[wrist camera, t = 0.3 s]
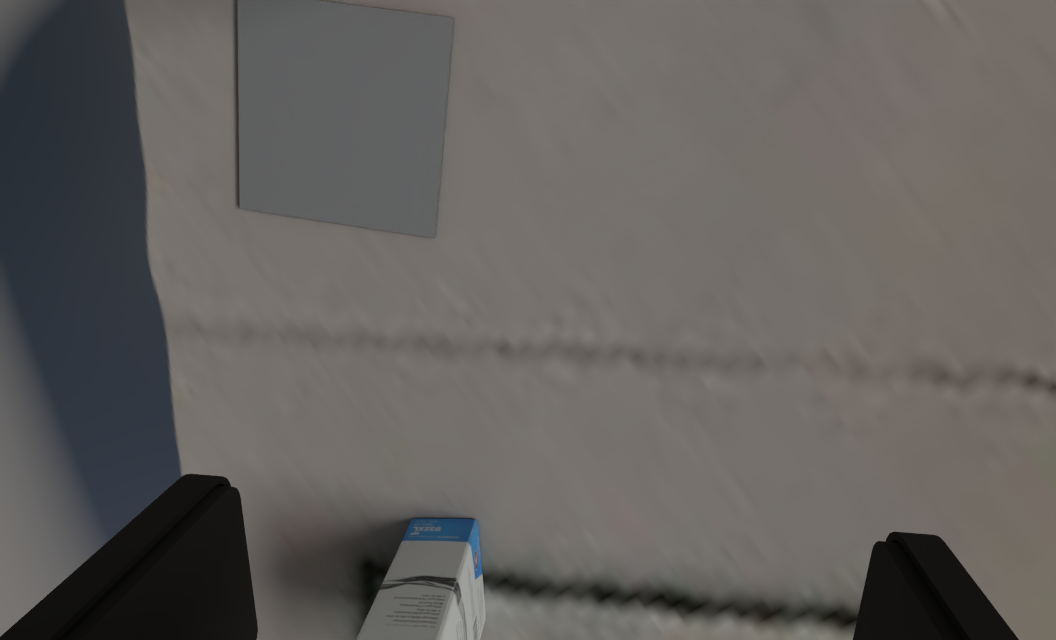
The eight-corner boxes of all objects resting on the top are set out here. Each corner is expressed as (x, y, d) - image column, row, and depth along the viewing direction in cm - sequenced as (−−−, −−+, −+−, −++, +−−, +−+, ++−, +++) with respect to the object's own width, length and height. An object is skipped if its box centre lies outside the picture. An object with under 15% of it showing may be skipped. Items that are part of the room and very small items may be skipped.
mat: (241, -9, 37) (237, -10, 36) (454, 18, 36) (452, 17, 36) (242, 207, 41) (239, 208, 40) (435, 236, 40) (434, 238, 40)
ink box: (410, 515, 46) (348, 645, 35) (480, 517, 46) (440, 651, 35) (420, 615, 49) (365, 767, 38) (487, 619, 48) (451, 774, 37)
